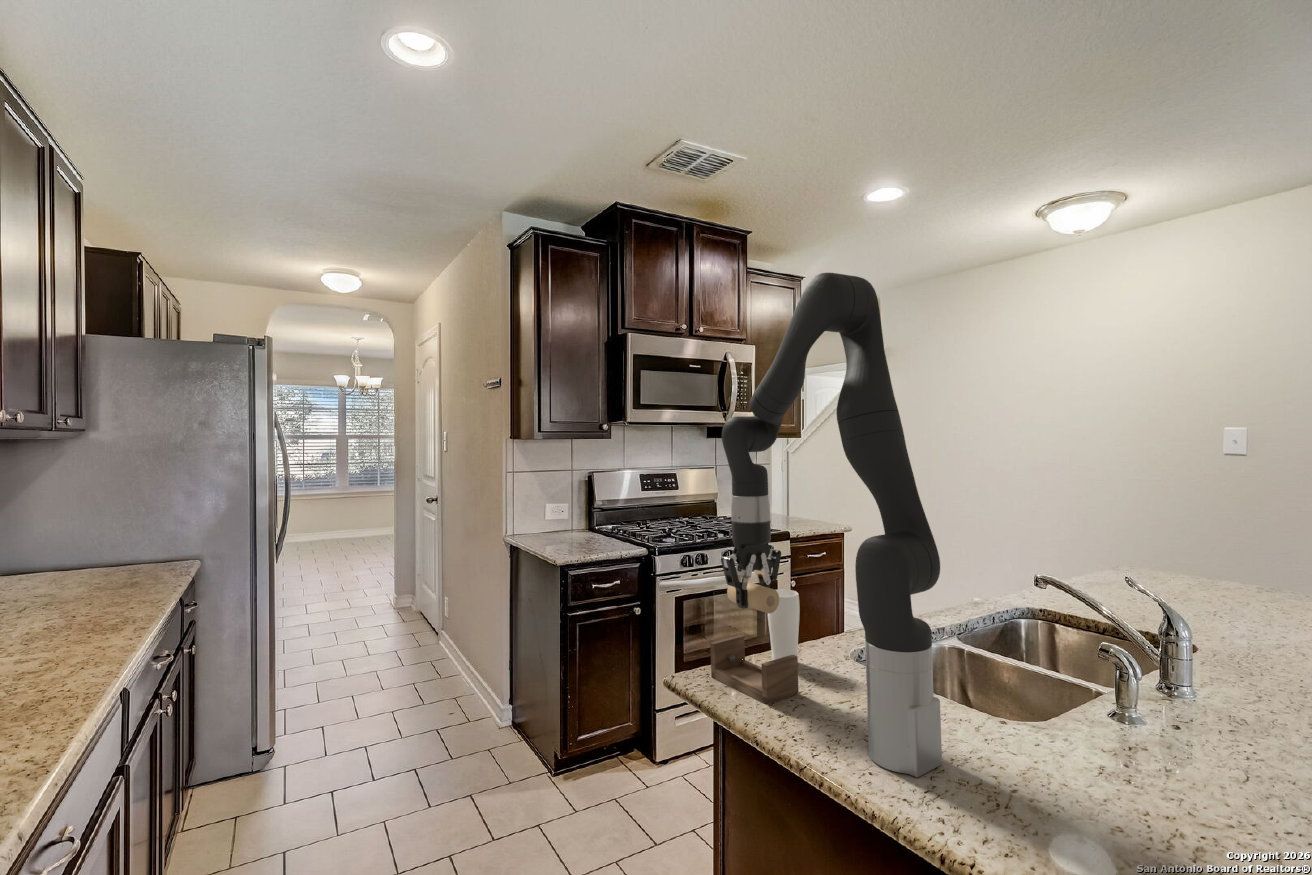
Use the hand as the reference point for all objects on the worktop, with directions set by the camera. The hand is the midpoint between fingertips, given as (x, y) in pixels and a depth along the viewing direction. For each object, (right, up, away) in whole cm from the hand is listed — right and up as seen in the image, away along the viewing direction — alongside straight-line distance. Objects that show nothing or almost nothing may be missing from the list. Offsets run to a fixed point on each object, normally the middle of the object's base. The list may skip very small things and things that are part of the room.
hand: (753, 605), depth 120 cm
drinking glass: (+8, -16, +11) cm, 21 cm away
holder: (0, -15, 0) cm, 15 cm away
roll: (0, 0, 0) cm, 0 cm away
